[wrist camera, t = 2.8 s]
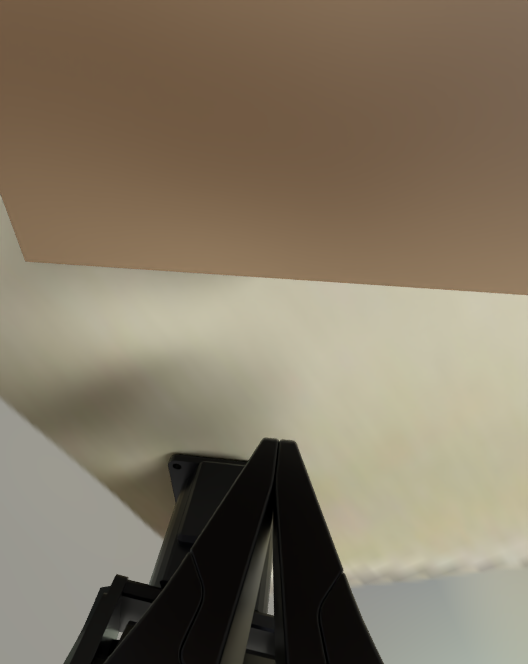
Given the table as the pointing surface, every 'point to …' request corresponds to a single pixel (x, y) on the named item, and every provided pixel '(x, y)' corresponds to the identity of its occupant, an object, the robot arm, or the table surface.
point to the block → (271, 138)
